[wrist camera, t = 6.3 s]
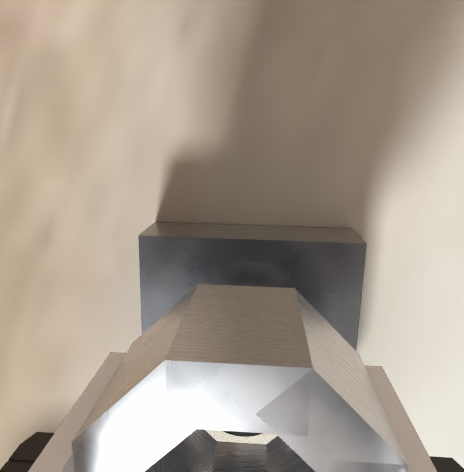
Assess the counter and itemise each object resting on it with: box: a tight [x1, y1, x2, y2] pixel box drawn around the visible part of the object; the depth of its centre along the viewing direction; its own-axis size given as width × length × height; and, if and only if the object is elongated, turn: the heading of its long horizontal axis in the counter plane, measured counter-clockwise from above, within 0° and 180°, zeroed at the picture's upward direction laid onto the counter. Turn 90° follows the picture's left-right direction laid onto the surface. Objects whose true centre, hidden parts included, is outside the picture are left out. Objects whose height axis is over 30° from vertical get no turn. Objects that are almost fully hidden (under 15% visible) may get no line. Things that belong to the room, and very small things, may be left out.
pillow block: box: [139, 222, 367, 436], centre depth 18 cm, size 10×9×8 cm
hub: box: [72, 284, 409, 472], centre depth 13 cm, size 8×8×5 cm
